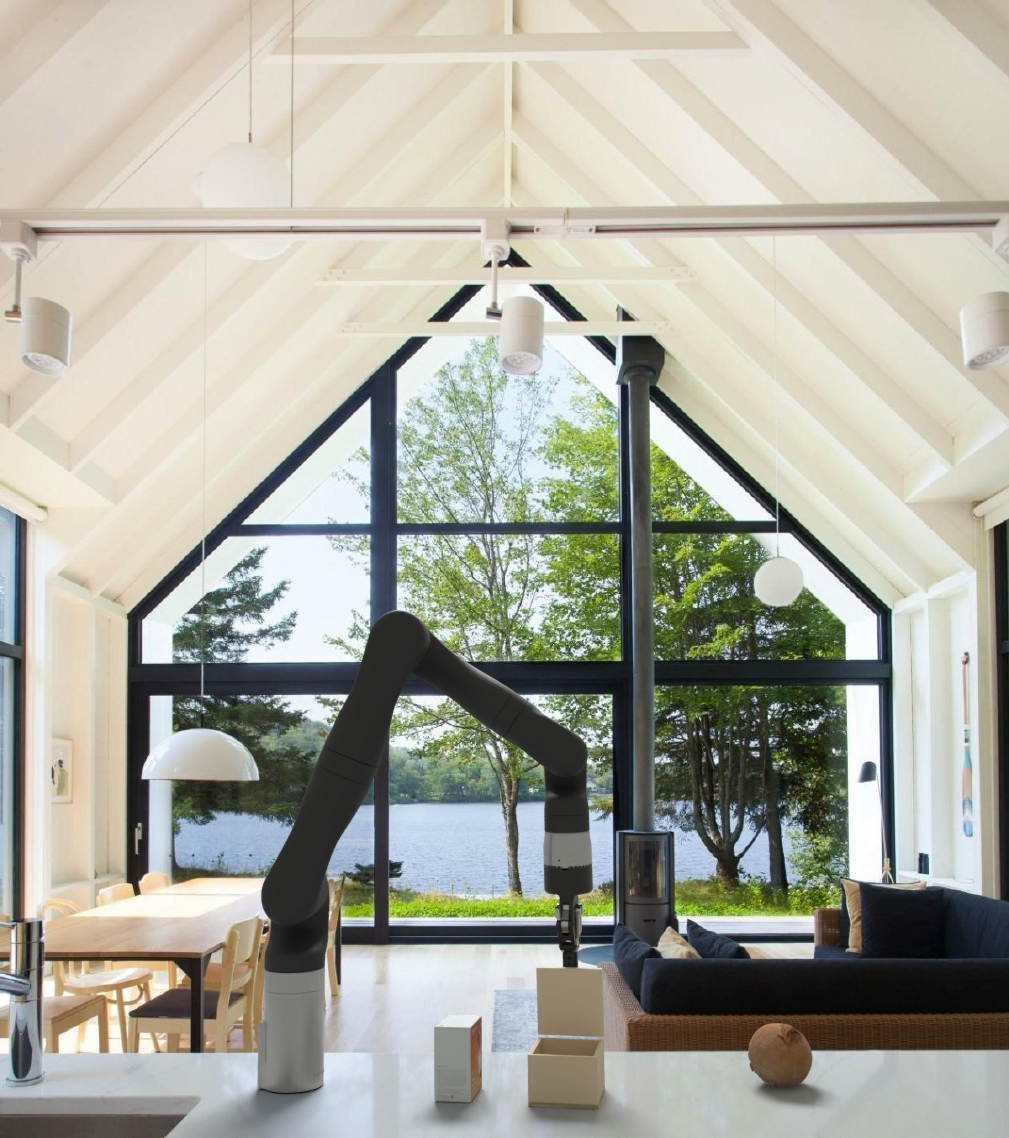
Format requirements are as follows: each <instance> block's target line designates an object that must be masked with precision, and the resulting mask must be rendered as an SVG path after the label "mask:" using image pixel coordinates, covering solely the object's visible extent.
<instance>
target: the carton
mask: <svg viewBox="0 0 1009 1138" xmlns="http://www.w3.org/2000/svg"><path fill="white" fill-rule="evenodd" d="M605 1072H606V1071H605V1039H597V1038H596V1039H595V1038H593V1039H591V1038H567V1037H565V1038H563V1037H540V1036H539V1037H537V1038H536V1040H535V1042H534V1044H533V1045H532V1047H531V1048H530V1050H529V1052H528V1053H527V1100H528V1101H527V1106H528V1107H536V1108H537V1107H538V1108H558V1109H559V1108H560V1109H561V1108H562V1109H579V1110H580V1109H581V1110H584V1109H585V1110H599V1108H600V1105H601V1102H602V1099H603V1096H604V1093H605V1090H606V1086H605V1085H606V1079H605Z"/></svg>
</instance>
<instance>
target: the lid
mask: <svg viewBox="0 0 1009 1138" xmlns="http://www.w3.org/2000/svg"><path fill="white" fill-rule="evenodd" d="M535 969H536V971H535V972H536V1006H537V1007H536V1008H537V1010H536V1011H537V1015H536V1017H537V1035H539V1036H564V1037H565V1036H566V1037H567V1036H569V1037H570V1036H571V1037H592V1038H593V1037H595V1038H597V1037H599V1038H604V1037H605V1019H604V1017H605V1016H604V1015H605V1014H604V1012H605V1011H604V981H603V980H604V979H603V978H604V977H603V968H602V967H579V966H578V967H563V966H541V965H540V966H536V968H535Z"/></svg>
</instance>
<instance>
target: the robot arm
mask: <svg viewBox="0 0 1009 1138" xmlns="http://www.w3.org/2000/svg"><path fill="white" fill-rule="evenodd" d="M410 676H413V677H415V678H418V679H419V680H421V681H424V682H425V683H427V684H428V685H430V686H432V687H434V688H435V689H437V690H439V691H440V692H441V693H443V694H444V695H445V696H447V698H449V699H451V700H452V701H453V702H454V703H456V704H457V706H460V707H461V709H463V710H464V711H466V713H467V714H468V715H470V716H472V717H473V718H475V720H476V721H478V722H479V723H481V724H482V725H484V726H485V727H486V728H488V729H489V730H491V731H492V732H494V733H495V734H497V735H498V736H499V737H501V738H502V739H503V740H505V741H507V742H508V743H509V744H511V745H513V746H516V747H518V748H519V749H521V750H522V751H523V752H524V753H526V755H528V756H529V757H530V758H532V759H533V760H534V761H535V762H536V763H538V764H539V765H541V766H542V767H543V773H544V775H543V776H544V789H545V797H544V806H543V807H544V808H543V814H544V816H543V823H544V824H543V825H544V826H543V827H544V828H543V829H544V837H543V845H542V846H543V848H542V851H543V886H544V888H543V890H544V891H545V893H546V894H549V895H552V896H553V895H554V896H555V895H557V897H559V900H558V903H557V904H556V905H555V906H554V917H555V919H556V922H555V926H556V930H557V931H556V932H557V934H556V935H557V940H558V948H559V951H560V952H561V953H562V967H579V949H580V944H581V940H582V939H581V934H582V931H583V927H582V924H583V923H582V922H583V921H582V920H583V919H582V915H583V914H584V904H583V903H580V901H579V900H580V899H579V895H580V896H581V895H587V894H589V893H592V891H593V889H594V883H593V882H594V879H593V878H594V876H593V847H592V840H591V831H590V829H591V828H590V806H589V799H588V795H587V784H588V783H587V780H588V779H587V777H588V776H587V775H588V774H587V773H588V768H587V766H588V758H589V752H588V747H587V745H586V743H585V741H584V739H582V737H581V736H580V735H578V733H576V732H573V731H572V730H570V729H568V728H566V727H565V726H564V725H562V724H561V723H559V722H557V721H555V720H554V719H552V718H550V716H547V715H546V714H544V713H543V712H542V711H541V710H540V708H539V709H538V707H536V706H535V705H534V704H533V703H531V702H530V701H528V700H527V699H526V698H524V697H523V696H522V695H520V694H519V693H517V692H515V691H514V690H513V689H511V688H510V687H508V686H507V685H505V684H503V683H501V682H500V681H499V680H497V679H496V678H494V677H492V676H490V675H488V674H487V673H485V672H484V671H481V670H480V669H478V668H477V667H475V666H473V665H472V664H470V663H468V662H467V661H466V660H464V659H463V658H462V657H460V656H459V655H457V654H456V653H455V652H453V651H452V650H451V649H450V648H449V647H448V646H447V645H445V644H444V643H443V642H442V641H441V640H440V639H439V638H438V637H437V636H436V635H435V634H434V633H433V632H432V631H431V630H430V629H429V628H428V627H427V625H426V624H425V622H424V621H423V620H422V619H421V618H420V617H419V616H417V615H415V614H414V613H412V612H411V611H408V610H404V609H395V610H390V611H388V612H385V613H384V614H382V615H381V616H379V617H378V618H377V619H376V621H375V622H374V623H373V625H372V627H371V629H370V630H369V634H368V637H367V641H366V644H365V648H364V651H363V655H362V659H361V660H360V664H359V668H358V671H357V673H356V676H355V680H354V682H353V684H352V687H351V689H350V692H349V694H348V695H347V698H346V699H345V701H344V703H343V704H342V706H341V708H340V710H339V712H338V714H337V716H336V718H335V721H334V722H333V725H332V727H331V729H330V731H329V733H328V736H327V737H326V739H325V741H324V744H323V746H322V748H321V751H320V753H319V756H318V758H317V759H316V760H317V761H316V763H315V766H314V768H313V771H312V773H311V777H310V778H309V781H308V783H307V786H306V789H305V792H304V794H303V798H302V800H301V803H300V806H299V809H298V811H297V815H296V818H295V821H294V823H293V826H292V828H291V830H290V832H289V834H288V836H287V838H286V840H285V842H284V843H283V845H282V847H281V849H280V851H279V853H278V855H277V857H276V859H275V861H274V863H273V865H272V866H271V868H270V869H269V871H268V873H267V875H266V876H265V879H264V881H263V882H262V886H261V890H260V899H261V900H260V901H261V905H262V910H263V912H264V914H265V915H266V917H267V918H268V919H269V920H270V929H269V930H270V931H269V938H268V942H267V945H266V948H265V952H264V959H263V960H264V969H263V971H264V972H263V973H264V974H263V975H264V976H263V978H264V979H263V1019H262V1020H260V1022H258V1028H257V1029H258V1030H257V1032H258V1034H257V1035H258V1037H257V1082H256V1083H257V1085H256V1087H257V1089H262V1090H266V1091H269V1092H271V1093H272V1092H274V1093H280V1094H281V1093H282V1094H283V1093H284V1094H286V1093H287V1094H289V1093H292V1094H293V1093H301V1092H308V1091H312V1090H314V1089H318V1088H320V1087H322V1086H323V1084H324V1076H325V1075H324V1074H325V1012H326V1010H325V1006H326V1005H325V1003H326V1002H325V1001H326V999H325V998H326V996H325V992H326V990H325V988H326V985H325V984H326V954H327V948H328V942H329V930H330V928H329V926H330V899H331V897H330V884H329V880H328V877H327V875H326V873H327V870H328V868H329V864H330V862H331V859H332V857H333V854H334V852H335V849H336V847H337V844H338V843H339V841H340V839H341V838H342V836H343V834H344V833H345V831H346V830H347V828H348V827H349V825H350V823H351V822H352V821H353V819H354V817H355V815H356V814H357V813H358V811H359V809H360V808H361V805H363V802H364V800H365V798H366V797H367V794H368V793H369V791H370V788H371V786H372V784H373V782H374V780H375V777H376V775H377V772H378V770H379V767H380V766H381V765H380V764H381V762H382V759H383V755H384V752H385V749H386V745H387V742H388V738H389V734H390V728H391V724H392V719H393V716H394V711H395V707H396V705H397V703H398V699H399V698H400V695H401V693H402V691H403V689H404V687H405V685H406V683H407V681H408V679H409V677H410Z"/></svg>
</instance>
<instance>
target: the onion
mask: <svg viewBox="0 0 1009 1138" xmlns="http://www.w3.org/2000/svg"><path fill="white" fill-rule="evenodd" d="M747 1056H748V1060H749V1061H750V1062H749V1067H750V1068H749V1069H750V1070H751V1073H754V1074H756V1075H757V1077H759V1078H760V1079H761V1081H762V1082H764V1084H766V1085H767V1086H768V1087H771V1086H772V1087H776V1088H783V1089H784V1088H793V1087H796V1086H798V1085H801V1084H802V1083H803V1082H804V1081H805V1080H806V1079H807V1077H808V1075H809V1074H810V1071H811V1069H812V1065H813V1053H812V1048H811V1045H810V1044H809V1041H808V1040H807V1038H806V1037H805V1035H804V1034H803V1033H802V1032H800V1031H799V1029H796V1027H795V1028H794V1027H793V1026H792V1025H791V1024H788V1023H779V1022H775V1023H767V1024H764V1025H762V1026H761V1027H760V1028H757V1030H756V1031H755V1032H754V1033H753V1035H752V1037H751V1039H750V1041H749V1044H748V1053H747Z"/></svg>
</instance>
